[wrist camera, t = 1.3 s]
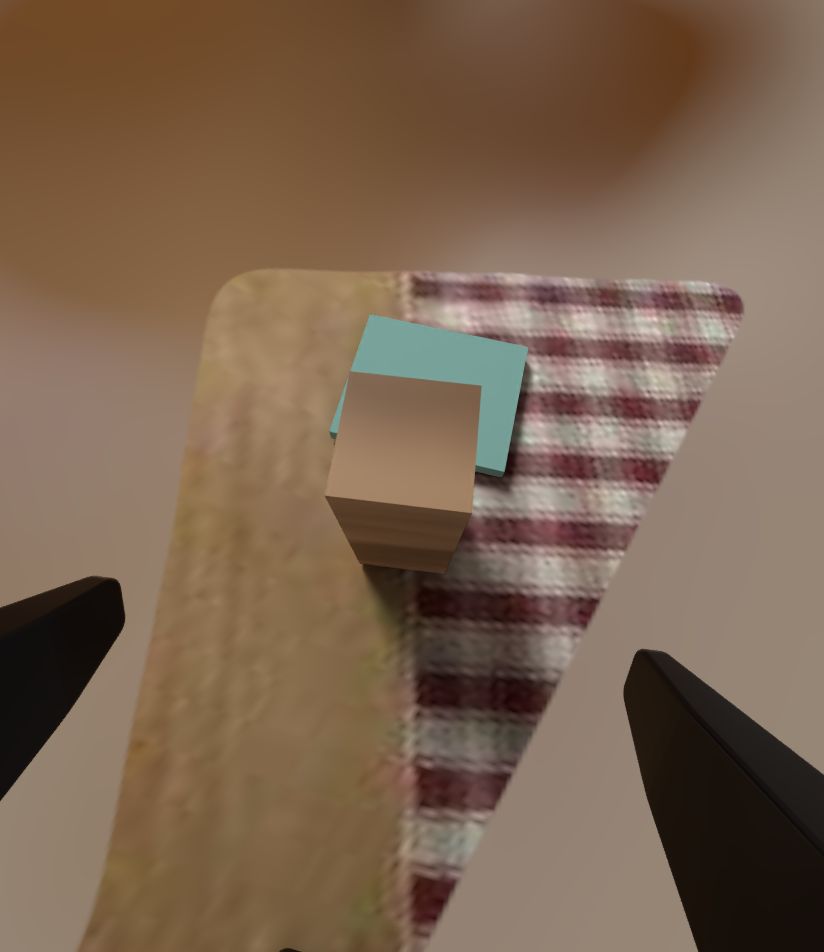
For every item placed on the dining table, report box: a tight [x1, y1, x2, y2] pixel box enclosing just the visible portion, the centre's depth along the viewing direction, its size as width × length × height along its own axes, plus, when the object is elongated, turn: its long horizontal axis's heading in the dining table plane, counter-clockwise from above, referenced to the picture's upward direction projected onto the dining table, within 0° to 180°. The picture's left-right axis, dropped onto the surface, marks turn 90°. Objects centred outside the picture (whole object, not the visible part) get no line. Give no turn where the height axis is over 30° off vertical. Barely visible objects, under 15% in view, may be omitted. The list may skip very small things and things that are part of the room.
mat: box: [329, 314, 528, 477], centre depth 25 cm, size 8×9×1 cm
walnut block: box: [325, 371, 482, 574], centre depth 18 cm, size 4×4×10 cm
